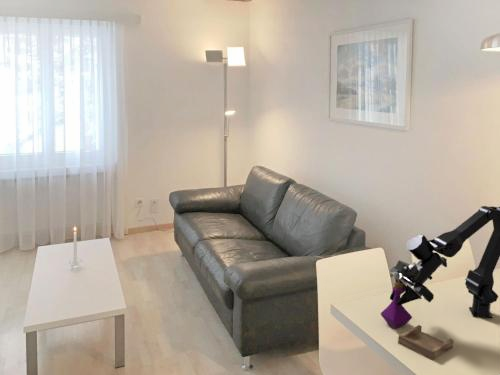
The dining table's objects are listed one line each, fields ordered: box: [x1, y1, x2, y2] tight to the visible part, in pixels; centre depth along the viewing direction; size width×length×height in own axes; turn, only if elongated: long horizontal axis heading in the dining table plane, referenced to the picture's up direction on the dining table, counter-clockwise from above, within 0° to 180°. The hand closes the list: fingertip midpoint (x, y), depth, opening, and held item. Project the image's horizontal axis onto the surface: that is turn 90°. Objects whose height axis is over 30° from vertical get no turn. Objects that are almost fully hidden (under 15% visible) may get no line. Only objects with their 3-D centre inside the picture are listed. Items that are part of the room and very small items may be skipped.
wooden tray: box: [397, 324, 454, 361], centre depth 152 cm, size 11×12×2 cm
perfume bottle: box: [380, 272, 413, 329], centre depth 163 cm, size 8×8×18 cm
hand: (393, 302), depth 162 cm, fingers closed on perfume bottle, 4 cm apart
